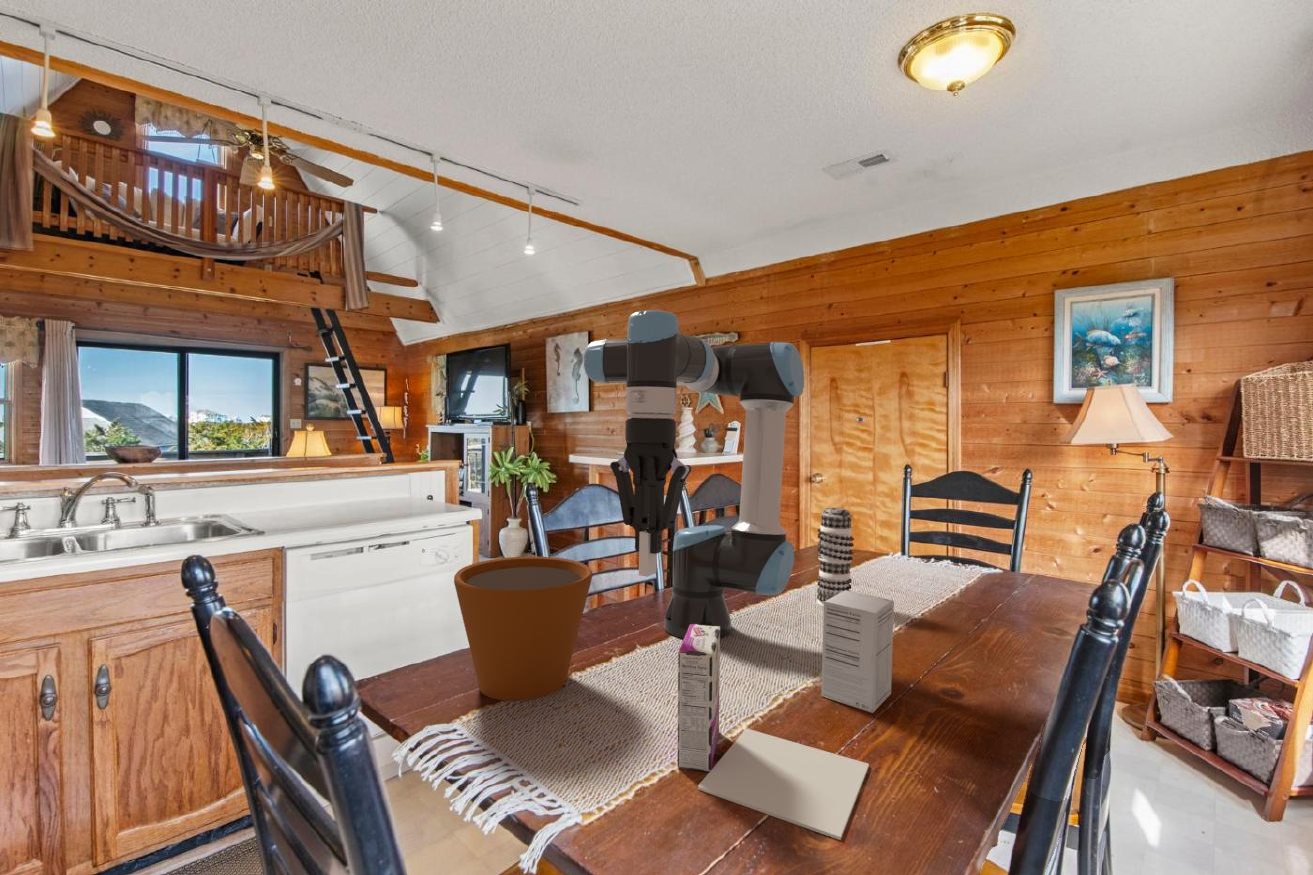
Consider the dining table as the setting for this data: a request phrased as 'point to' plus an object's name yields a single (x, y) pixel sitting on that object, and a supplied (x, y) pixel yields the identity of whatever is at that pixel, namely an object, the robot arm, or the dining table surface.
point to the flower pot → (522, 622)
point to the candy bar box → (698, 697)
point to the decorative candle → (834, 553)
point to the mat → (788, 781)
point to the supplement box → (857, 649)
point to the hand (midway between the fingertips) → (647, 573)
